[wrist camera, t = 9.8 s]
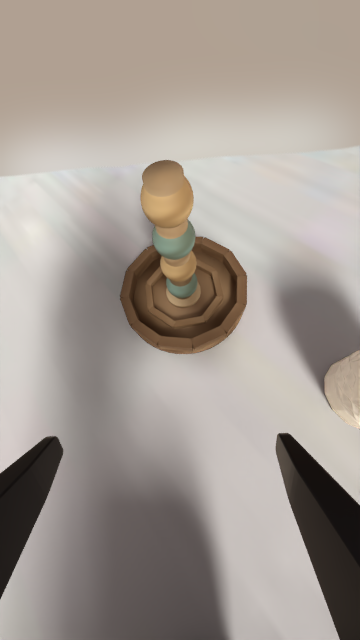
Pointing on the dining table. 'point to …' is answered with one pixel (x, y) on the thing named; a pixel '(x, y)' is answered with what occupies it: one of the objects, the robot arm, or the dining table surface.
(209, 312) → the groove tray
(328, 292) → the dining table surface
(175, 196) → the post
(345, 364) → the white cup
